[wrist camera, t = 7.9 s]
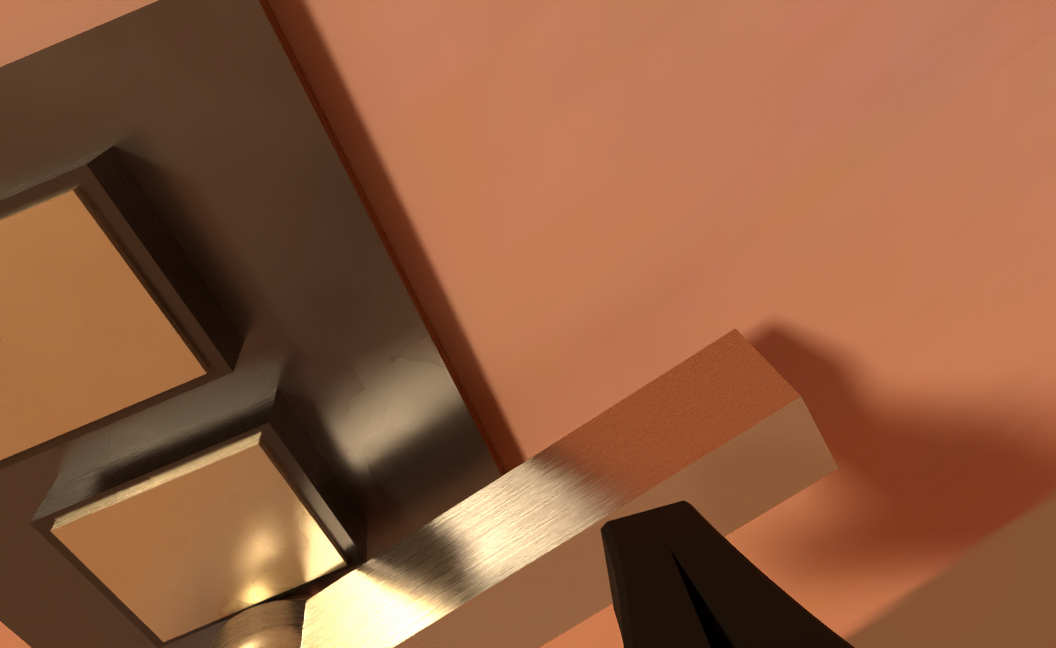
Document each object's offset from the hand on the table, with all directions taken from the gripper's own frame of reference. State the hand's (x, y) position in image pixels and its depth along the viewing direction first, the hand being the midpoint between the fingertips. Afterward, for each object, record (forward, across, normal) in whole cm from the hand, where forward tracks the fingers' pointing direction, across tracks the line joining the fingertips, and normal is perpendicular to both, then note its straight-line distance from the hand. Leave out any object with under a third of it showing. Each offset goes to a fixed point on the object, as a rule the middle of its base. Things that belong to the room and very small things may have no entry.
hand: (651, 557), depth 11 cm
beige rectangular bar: (+6, +3, +5) cm, 8 cm away
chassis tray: (+9, +10, +1) cm, 14 cm away
